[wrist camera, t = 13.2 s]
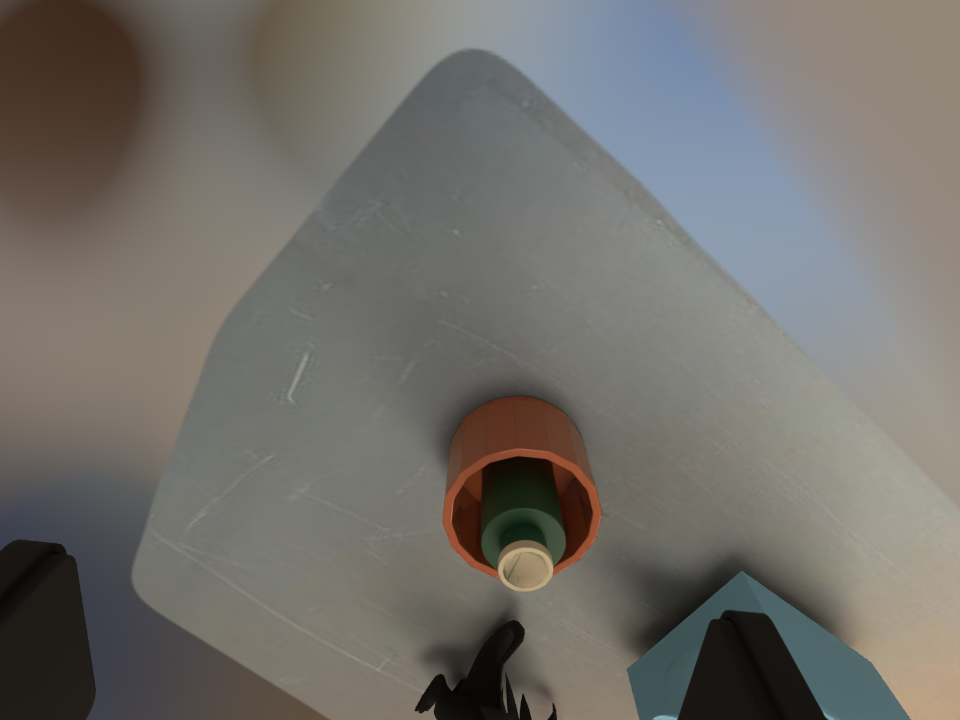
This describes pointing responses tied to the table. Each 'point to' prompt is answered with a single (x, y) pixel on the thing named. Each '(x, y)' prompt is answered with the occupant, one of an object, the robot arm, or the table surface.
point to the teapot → (818, 654)
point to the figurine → (481, 684)
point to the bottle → (521, 521)
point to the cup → (510, 434)
